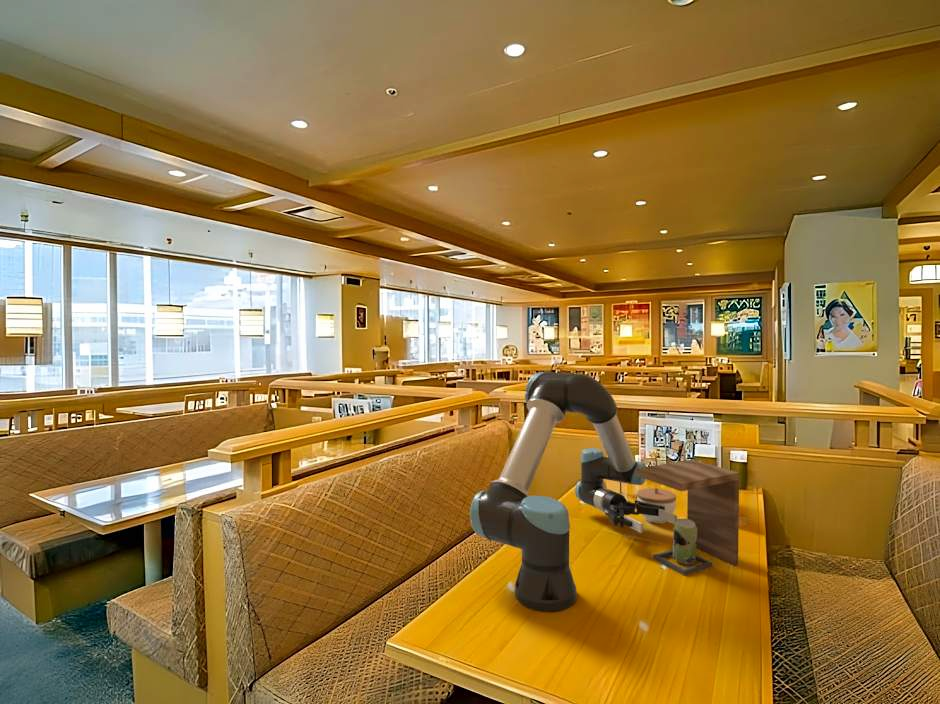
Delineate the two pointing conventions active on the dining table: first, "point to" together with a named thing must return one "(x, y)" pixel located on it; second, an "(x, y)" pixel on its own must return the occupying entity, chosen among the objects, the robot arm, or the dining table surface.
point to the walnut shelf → (705, 503)
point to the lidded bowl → (657, 501)
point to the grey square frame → (686, 571)
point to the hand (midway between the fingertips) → (659, 524)
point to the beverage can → (685, 541)
